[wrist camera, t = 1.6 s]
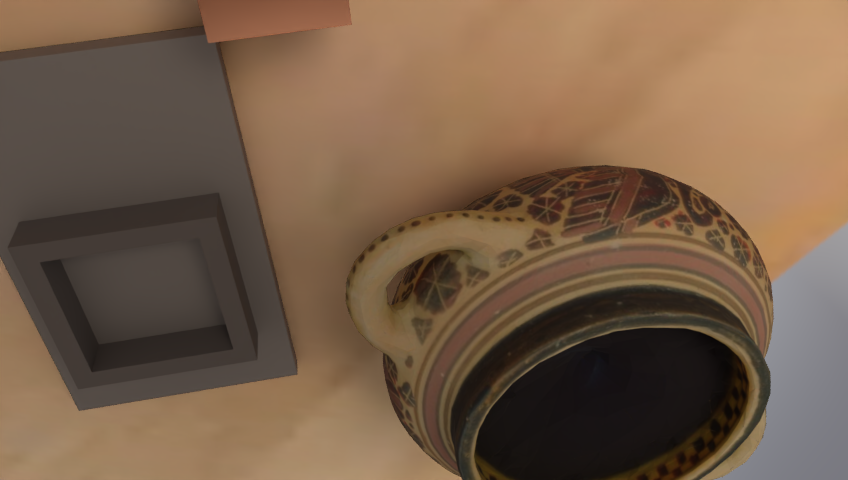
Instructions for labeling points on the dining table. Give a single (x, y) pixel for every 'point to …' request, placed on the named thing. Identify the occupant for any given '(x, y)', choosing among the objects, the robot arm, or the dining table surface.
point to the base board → (136, 219)
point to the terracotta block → (269, 17)
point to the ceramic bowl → (574, 330)
